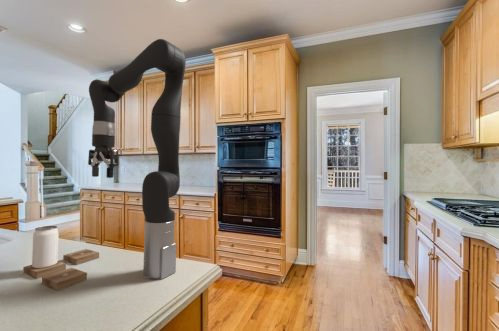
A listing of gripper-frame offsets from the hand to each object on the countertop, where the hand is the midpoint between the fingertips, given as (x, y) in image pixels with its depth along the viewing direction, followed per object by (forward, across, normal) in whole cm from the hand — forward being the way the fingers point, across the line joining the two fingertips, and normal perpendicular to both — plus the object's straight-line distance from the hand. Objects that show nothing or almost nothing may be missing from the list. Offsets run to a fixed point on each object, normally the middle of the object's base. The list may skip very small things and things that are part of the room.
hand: (102, 177), depth 96 cm
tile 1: (+30, +11, -18) cm, 37 cm away
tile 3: (+30, -3, -5) cm, 31 cm away
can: (+28, -2, -17) cm, 33 cm away
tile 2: (+30, -2, -17) cm, 35 cm away
